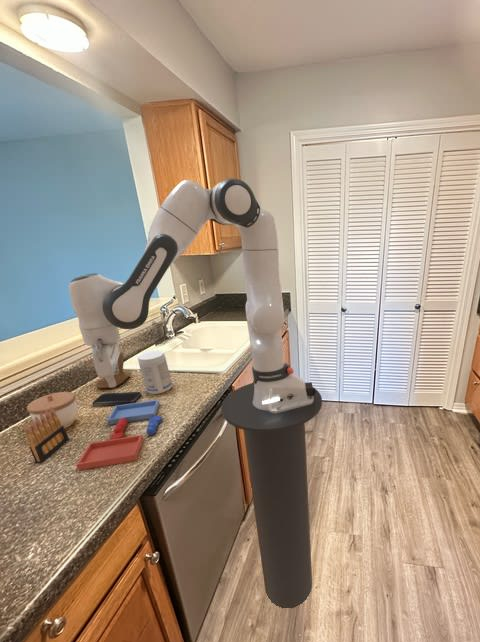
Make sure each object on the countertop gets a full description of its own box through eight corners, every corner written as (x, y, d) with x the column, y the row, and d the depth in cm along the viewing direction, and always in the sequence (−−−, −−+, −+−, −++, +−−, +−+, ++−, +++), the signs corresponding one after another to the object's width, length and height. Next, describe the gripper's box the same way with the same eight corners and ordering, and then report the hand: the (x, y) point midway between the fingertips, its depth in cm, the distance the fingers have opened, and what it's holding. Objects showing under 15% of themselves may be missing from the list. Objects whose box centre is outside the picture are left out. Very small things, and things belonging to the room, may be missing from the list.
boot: (120, 390, 128) (109, 355, 123) (92, 390, 130) (80, 355, 124) (140, 374, 142) (131, 342, 136) (114, 374, 143) (105, 342, 137)
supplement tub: (169, 381, 134) (161, 348, 128) (175, 389, 127) (167, 354, 121) (144, 388, 129) (135, 354, 123) (149, 397, 122) (139, 361, 116)
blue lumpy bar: (144, 437, 97) (142, 430, 96) (151, 419, 107) (149, 413, 106) (157, 435, 98) (155, 428, 97) (162, 418, 107) (161, 411, 106)
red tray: (143, 439, 96) (142, 434, 96) (136, 460, 88) (134, 454, 87) (91, 448, 94) (89, 442, 93) (78, 470, 85) (76, 464, 84)
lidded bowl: (89, 412, 113) (79, 384, 109) (73, 432, 102) (62, 401, 97) (48, 417, 111) (37, 389, 107) (29, 439, 100) (14, 408, 95)
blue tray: (159, 404, 116) (158, 399, 116) (154, 418, 108) (153, 413, 107) (117, 410, 114) (115, 405, 113) (108, 425, 105) (107, 420, 104)
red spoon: (130, 422, 106) (128, 415, 105) (122, 440, 96) (120, 433, 95) (119, 424, 105) (116, 417, 104) (109, 442, 96) (106, 435, 95)
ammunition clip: (41, 462, 89) (25, 425, 84) (35, 462, 89) (18, 425, 84) (69, 439, 98) (55, 405, 94) (63, 439, 99) (49, 405, 94)
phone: (131, 401, 116) (90, 403, 117) (132, 404, 117) (91, 406, 117) (141, 391, 124) (103, 393, 124) (142, 394, 124) (103, 395, 124)
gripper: (109, 343, 82) (124, 392, 87) (117, 324, 99) (128, 366, 105) (81, 347, 80) (97, 397, 85) (94, 327, 97) (106, 370, 102)
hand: (114, 379), depth 95 cm, fingers open, 8 cm apart
